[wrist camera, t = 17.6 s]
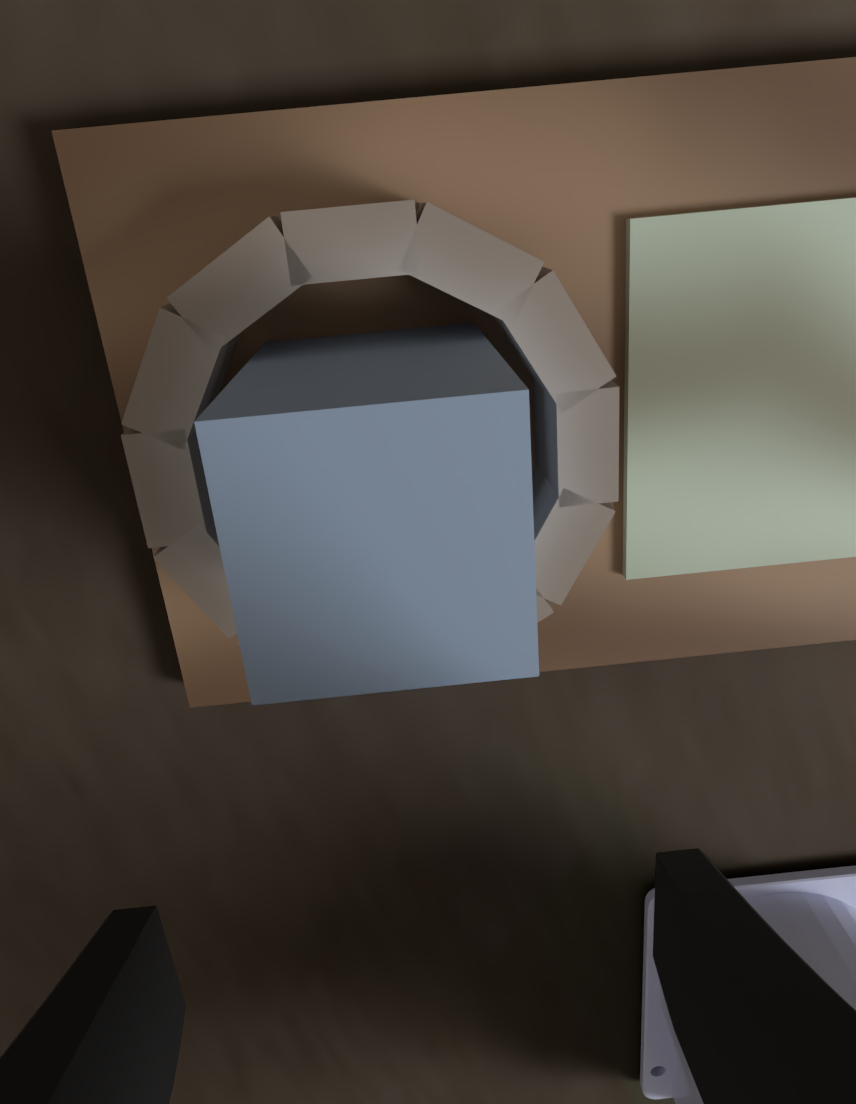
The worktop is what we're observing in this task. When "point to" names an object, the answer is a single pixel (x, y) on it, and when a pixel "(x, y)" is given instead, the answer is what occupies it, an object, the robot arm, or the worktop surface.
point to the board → (509, 192)
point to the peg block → (375, 513)
